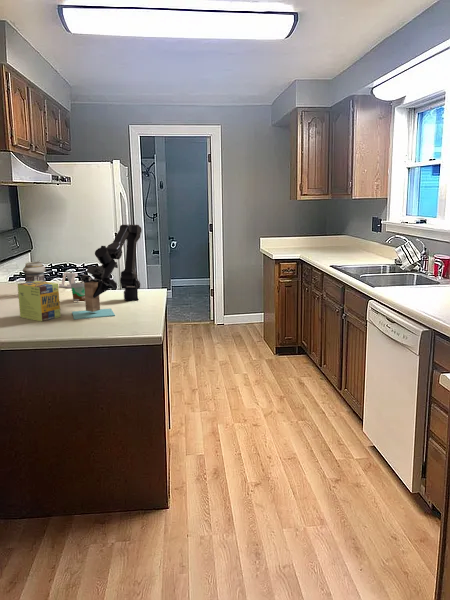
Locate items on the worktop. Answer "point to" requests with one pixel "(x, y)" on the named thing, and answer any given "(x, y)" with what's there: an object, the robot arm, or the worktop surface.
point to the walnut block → (91, 297)
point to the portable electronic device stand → (70, 278)
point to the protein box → (39, 300)
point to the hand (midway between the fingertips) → (89, 296)
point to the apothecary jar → (34, 271)
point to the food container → (78, 291)
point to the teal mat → (93, 314)
